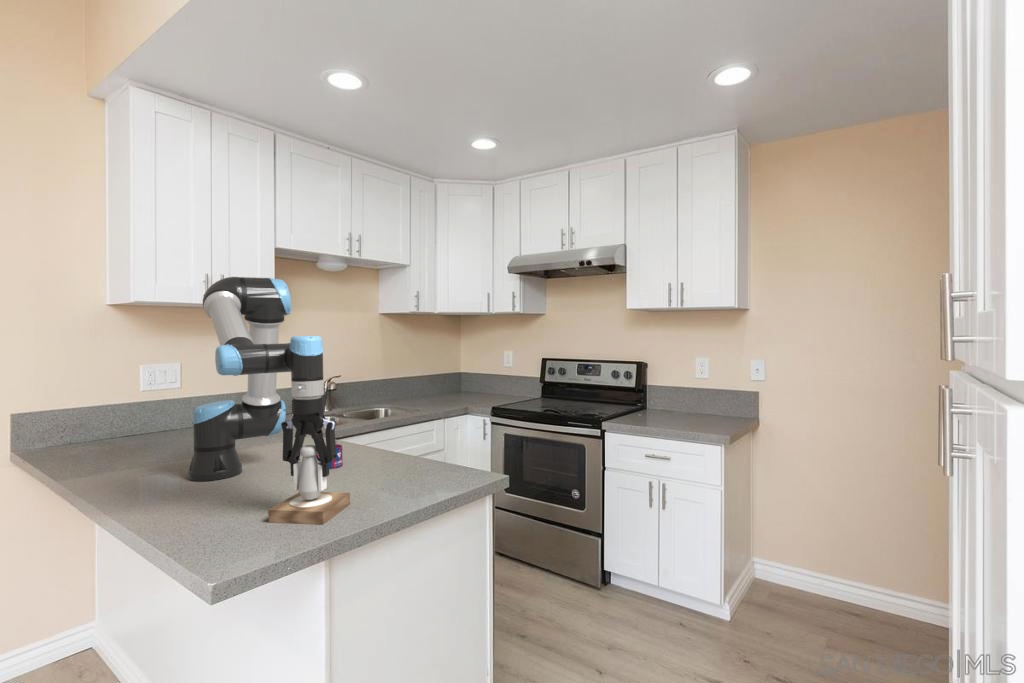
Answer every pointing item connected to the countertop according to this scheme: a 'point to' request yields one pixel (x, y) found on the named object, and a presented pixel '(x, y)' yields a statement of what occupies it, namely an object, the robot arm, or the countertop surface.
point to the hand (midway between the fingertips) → (310, 488)
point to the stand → (309, 508)
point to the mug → (339, 460)
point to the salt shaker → (309, 473)
